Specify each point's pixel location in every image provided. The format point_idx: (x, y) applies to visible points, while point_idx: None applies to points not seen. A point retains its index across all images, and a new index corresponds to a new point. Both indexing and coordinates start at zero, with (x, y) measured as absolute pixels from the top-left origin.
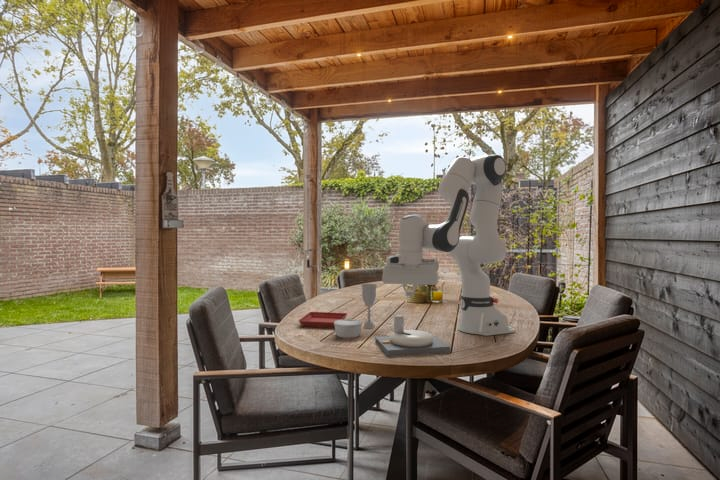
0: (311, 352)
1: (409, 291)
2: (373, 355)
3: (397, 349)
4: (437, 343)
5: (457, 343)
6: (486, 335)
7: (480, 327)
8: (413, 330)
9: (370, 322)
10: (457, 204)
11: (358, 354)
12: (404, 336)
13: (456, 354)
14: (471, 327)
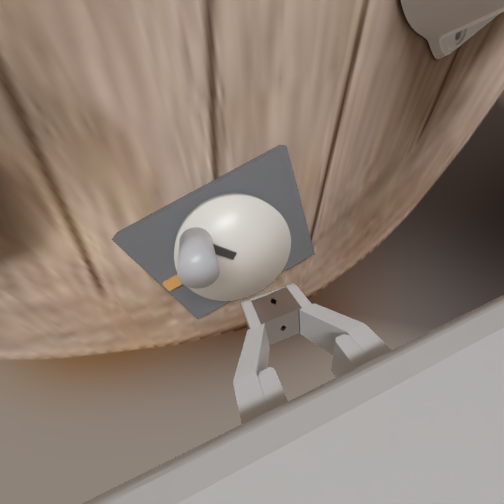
0: (7, 358)
1: (282, 322)
2: (167, 316)
3: (215, 307)
4: (293, 241)
5: (336, 174)
6: (439, 58)
7: (461, 29)
8: (237, 203)
9: None
10: None
11: (132, 323)
12: (222, 274)
13: (316, 254)
14: (440, 8)
